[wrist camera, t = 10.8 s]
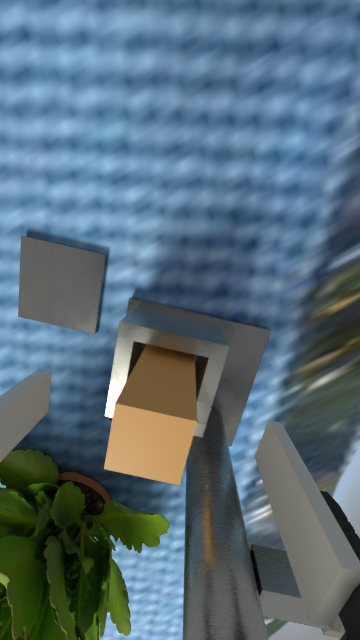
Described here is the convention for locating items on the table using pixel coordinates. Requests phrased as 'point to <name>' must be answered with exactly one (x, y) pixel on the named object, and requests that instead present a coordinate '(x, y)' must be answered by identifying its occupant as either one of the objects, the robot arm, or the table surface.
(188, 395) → the tan rectangular bar
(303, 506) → the robot arm
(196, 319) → the grey post stand
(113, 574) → the potted flower
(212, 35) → the table surface
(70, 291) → the plate
